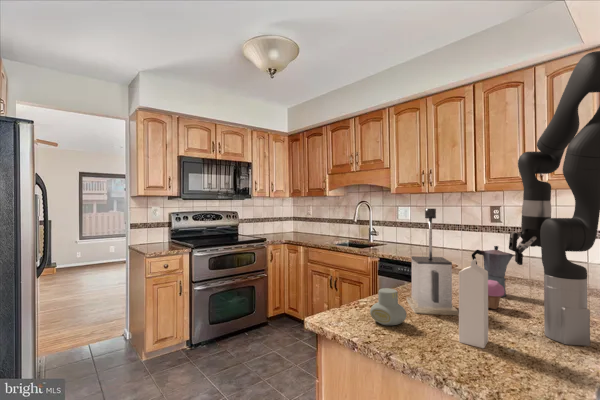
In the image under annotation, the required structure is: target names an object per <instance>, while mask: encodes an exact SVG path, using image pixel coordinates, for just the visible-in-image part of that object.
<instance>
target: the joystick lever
mask: <svg viewBox="0 0 600 400" xmlns="http://www.w3.org/2000/svg"><path fill="white" fill-rule="evenodd" d="M424 219H428V257H429V260H432V257H433V219H437V208H424Z"/></svg>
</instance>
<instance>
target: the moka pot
mask: <svg viewBox="0 0 600 400" xmlns="http://www.w3.org/2000/svg"><path fill="white" fill-rule="evenodd" d="M476 255H480V256H482V257H483V269H485V270H486V271H488V280H493V281H497V282H499V284H500V285H502V286H503V287H504V291H505V293H504V295H503V296H501V298H502V297H503V298H505V297H506V296H507V294H506V293H507V292H506V278H505V276H506V272H507V268H508V265H509V263H510V261H511V260H512V257H515V254H513V253H510V252H505V251H501V250H499V246H498V245H493V249H490V250H488V249H487V250H481V249H475V251H473V253H471V259H472V260H474V259H476V264H477V265H478V261H477V257H476Z"/></svg>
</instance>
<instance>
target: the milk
mask: <svg viewBox="0 0 600 400" xmlns="http://www.w3.org/2000/svg"><path fill="white" fill-rule="evenodd" d="M476 261H477V258H476V259H474V260H473V259H472V260H470V266H467V267H465V268H463V269H461V270H460V271H458V342H459V343H461V344H465V345H469V346H473V347H476V348H480V349H485V348H486V345H487V344H488V343H489V308H488V271H486V270H485V269H484V267H482V266H480V265H479V264H478V263H477V264H476Z"/></svg>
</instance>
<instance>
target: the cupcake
mask: <svg viewBox="0 0 600 400" xmlns="http://www.w3.org/2000/svg"><path fill="white" fill-rule="evenodd" d="M505 291H506V290H505ZM505 291H504V287H503V286H502V285H500V284H499V282H497V281H493V280H488V309H493V310H497V309H498V308H499V305H500V301H501V298H502V297H501V296H503V295H504V293H505Z"/></svg>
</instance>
